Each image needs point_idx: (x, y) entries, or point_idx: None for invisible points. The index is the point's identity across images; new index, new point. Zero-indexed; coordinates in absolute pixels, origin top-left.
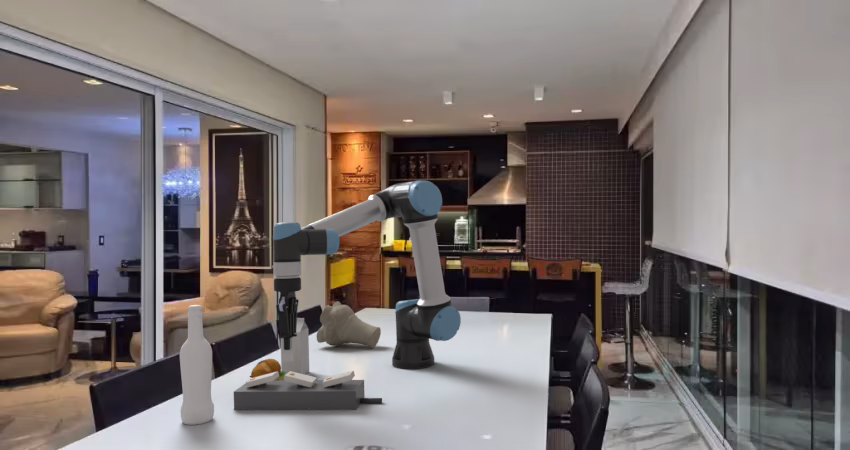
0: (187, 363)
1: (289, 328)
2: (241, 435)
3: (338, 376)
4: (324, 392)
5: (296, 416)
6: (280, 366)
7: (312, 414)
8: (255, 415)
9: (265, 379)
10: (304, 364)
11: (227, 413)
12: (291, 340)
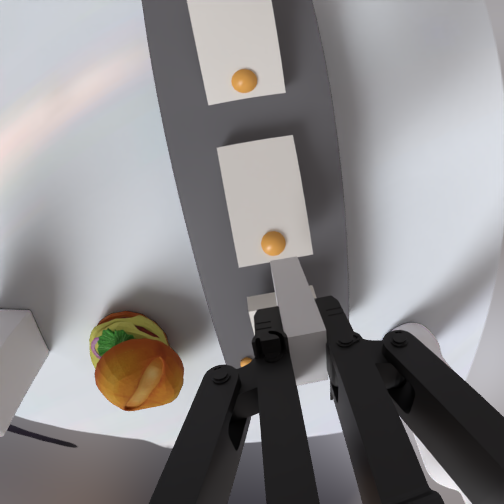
0: None
1: (382, 385)
2: (482, 213)
3: (242, 36)
4: (325, 71)
5: (377, 141)
6: (108, 354)
7: (356, 101)
8: (375, 254)
9: None
10: (2, 323)
11: (360, 322)
12: (321, 323)
